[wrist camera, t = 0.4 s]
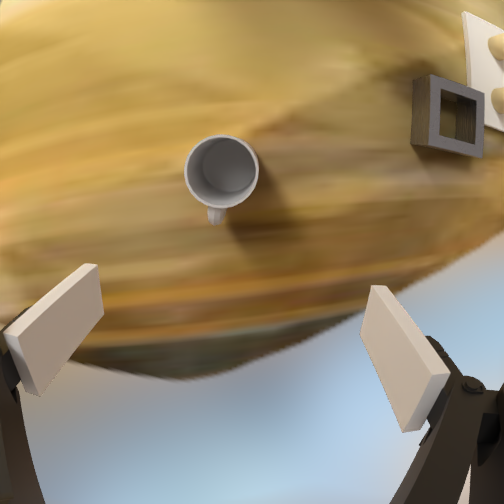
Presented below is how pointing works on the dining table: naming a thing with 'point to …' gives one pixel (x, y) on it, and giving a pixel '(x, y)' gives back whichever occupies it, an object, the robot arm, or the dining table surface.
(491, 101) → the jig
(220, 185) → the cup
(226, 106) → the dining table surface
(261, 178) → the dining table surface
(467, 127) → the collar
